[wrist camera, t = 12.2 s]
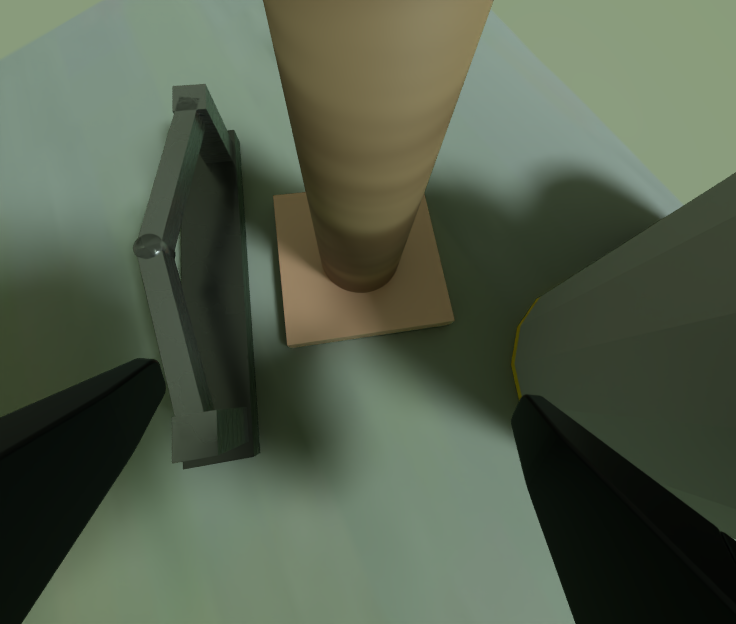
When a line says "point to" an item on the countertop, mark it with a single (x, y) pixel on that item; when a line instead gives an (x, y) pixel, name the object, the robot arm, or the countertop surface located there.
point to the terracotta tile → (349, 309)
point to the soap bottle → (651, 352)
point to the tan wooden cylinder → (370, 116)
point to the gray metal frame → (201, 285)
